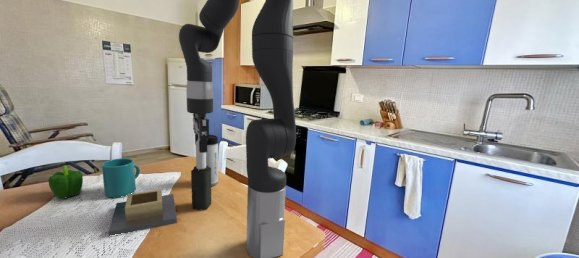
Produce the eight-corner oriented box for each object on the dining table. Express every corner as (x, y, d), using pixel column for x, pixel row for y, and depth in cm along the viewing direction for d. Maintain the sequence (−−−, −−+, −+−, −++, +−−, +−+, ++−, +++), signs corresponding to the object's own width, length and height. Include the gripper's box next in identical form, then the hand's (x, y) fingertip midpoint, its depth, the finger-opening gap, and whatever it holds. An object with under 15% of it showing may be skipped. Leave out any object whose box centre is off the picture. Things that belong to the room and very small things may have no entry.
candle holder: (176, 222, 70) (176, 205, 69) (108, 237, 62) (106, 217, 61) (173, 198, 84) (172, 183, 83) (117, 207, 76) (115, 191, 75)
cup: (149, 187, 91) (147, 158, 89) (116, 201, 80) (113, 168, 78) (131, 182, 94) (129, 154, 92) (98, 195, 83) (95, 164, 81)
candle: (212, 202, 82) (211, 130, 77) (206, 210, 77) (204, 134, 72) (198, 201, 83) (196, 129, 78) (190, 208, 78) (188, 133, 73)
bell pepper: (79, 199, 80) (75, 170, 78) (46, 202, 76) (41, 173, 74) (88, 188, 87) (85, 162, 85) (59, 191, 84) (55, 163, 82)
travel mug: (200, 181, 98) (199, 133, 94) (216, 179, 101) (216, 132, 97) (201, 187, 93) (200, 137, 89) (219, 185, 95) (219, 136, 91)
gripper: (218, 99, 68) (218, 154, 72) (208, 95, 81) (209, 142, 84) (189, 98, 65) (191, 156, 68) (184, 94, 77) (185, 143, 80)
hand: (200, 148), depth 76 cm, fingers open, 8 cm apart
